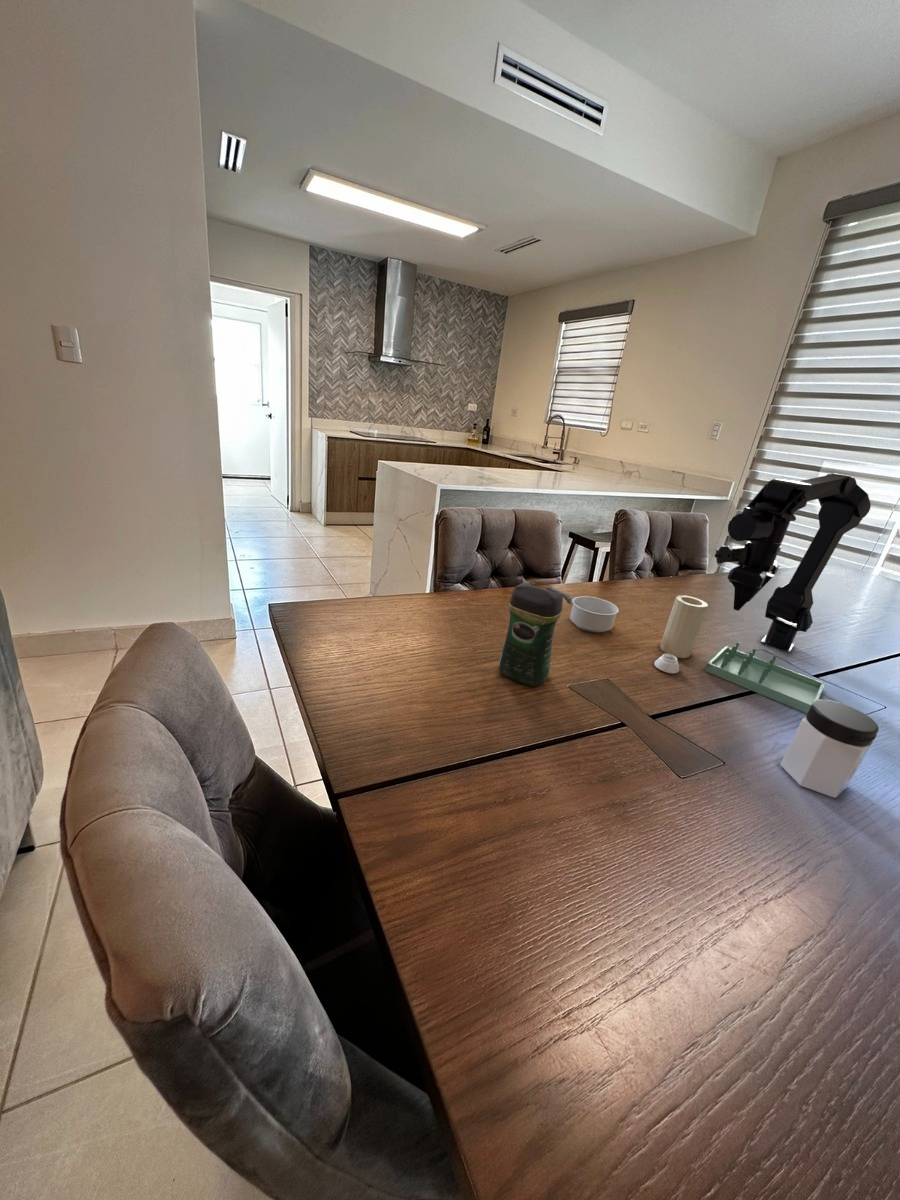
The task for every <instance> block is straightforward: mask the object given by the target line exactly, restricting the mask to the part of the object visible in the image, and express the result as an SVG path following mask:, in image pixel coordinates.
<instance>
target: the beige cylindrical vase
mask: <svg viewBox="0 0 900 1200" xmlns="http://www.w3.org/2000/svg"><path fill="white" fill-rule="evenodd" d="M708 606H709V604H708V603H707V602H705V601H704V600H702V599H700V598H698V597H694V596H691V595H683V594H682V595H676V597H675V599H674V602H673V605H672V607H671V608H672V609H671V612H670V614H669V618H668V620H667V623H666V626H665V630H664V633H663V636H662V639H661V642H660V645H659V648H660V650H661V651H662V652H664V654H670V655H673V656H675V657H676V658H681V659H686V658H687V659H688V658H689V657H690V656H691V654H692V652H693V649H694V646H695V643H696V640H697V637H698V635H699V631H700V629H701V626H702V624H703V622H704V617H705V615H706V612H707V609H708Z"/></svg>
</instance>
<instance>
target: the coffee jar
mask: <svg viewBox="0 0 900 1200" xmlns="http://www.w3.org/2000/svg"><path fill="white" fill-rule="evenodd" d="M563 603H564V598H563V596H562V594H560V593H556V592H552V591H549V590H547V589H546V588H543V587H539V586H536V585H532V584H530V583H527V582H523V583H520V584H518V585H516V586H515V587H514V589H513V591H512V593H511V597H510V600H509V602H508V609H509V624H508V628H507V633H506V636H505V640H504V644H503V647H502V651H501V654H500V659H499V663H498V671H499V673H500V674H502V675H503V676H505V677H507V679H510V680H513V681H515V682H517V683H520V684H523V685H526V686H529V687H534V686H540V685H542V684H543V683H544V682H546V680H548V678H549V674H550V668H551V659H552V658H551V657H552V649H553V648H552V647H553V639H554V633H555V627H556V624H557V622H558V621H559V619H560V618H561V616H562V614H563Z"/></svg>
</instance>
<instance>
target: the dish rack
mask: <svg viewBox="0 0 900 1200" xmlns="http://www.w3.org/2000/svg"><path fill="white" fill-rule="evenodd" d="M739 646H740V642H739V641H736V643H735V645H734V644H733V646H732V647H730V646H728V645H725V646H724V647H722V649H720V651H719V652H717V654H715V656H714V657H712V658H711V659H710V660H709V661H708V662H707V664H706V667H705V669H704V671H705V672H706V673H709V674H711V675H714V676H716V677H719V678H720V679H723V680H725V681H729V682H731V683H733V684H736V685H737V686H740V687H742V688H745V689H747V690H750V691H751V692H755V693H757V694H759V695H761V696H764V697H766V698H769V699H771V700H774V701H776V702H779V703H781V704H783V705H786V706H788V707H790V708H793V709H795V710H798V711H800V712H802V713H805V714H807V713H808V711H809V709H810V707H811V705H812V703H813V702H814V701H816V700H820V698H821V695H822V693H823V691H824V688H825V685H826V683H825V682H823V681H821V680H818V679H815V678H814V677H813V678H812V677H810V676H807V675H805V674H802V673H799V672H796V671H794V670H791V669H788V668H786V667H783V666H781V665H779V664H776V663H775V661H776V659H777V655H775V654H773V656H772V658H770V660H769V661H767V660H765V659H762V658H759V657H757V656H755V654H756V651H757V648H756V647H753V648H752V651H750V652H749V653H747V652H743V651H740V650H738V648H739Z"/></svg>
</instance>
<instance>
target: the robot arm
mask: <svg viewBox="0 0 900 1200" xmlns="http://www.w3.org/2000/svg"><path fill="white" fill-rule="evenodd" d="M816 500H818V503H819V505H820V508H819V510H818V513H817V518H818V522H819V528H818V530H817V531H816V533H815V535H814V537H813V539H812V540H811V543H810V544H809V545H808V548H807V549H806V552H805V553H804V555H803V557H802V558H801V560H800V562H799V564H798V566H797V568H796V570H794V571H795V572H794V574H793V575H792V577H791V578H790V581H789V582H788V583H786V584H785V585H782V586H777V587H776V588H775V589H774V590H773V593H772V595H771V597H770V598H769V599H768V601H767V603H766V609H765V615H764V617H765V618H766V619H769V620H771V621H772V622H771V624H770V625H769V629H768V631H767V633H766V634H765V636H764V637H763V638H762V639H761V640H760V643H761V644H764V645H766V646H769V647H771V648H773V649H777V650H780V651H783V652H785V653H791V651H792V649H793V648H794V646H795V644H794V640H795V637H796V635H797V633H798V632H803V633H807V632H808V630H810V628H811V626H812V624H813V623H814V621H813V616H812V612H811V609H812V607H813V605H814V597H813V589H814V587H815V585H816V583H817V582H818V580H819V578H820V576H821V574H822V573H823V572H824V569H825V567H826V566H827V564H828V562H829V560H830V559H831V557H832V555H833V553H834V552H835V550H836V548H837V546H838V545H839V543H840V541H841V540H842V537H843V536H844V535H845V534H846V533H849V532H850V531H851V530H853V529H854V528H856V527H858V526H859V524H861V522H862V520H863V519H864V518H865V517H867V515H868V514H869V513H870V510H871V507H872V504H871V500H870V497H869V493H868V492H866V491H865V490H864V489H863V488H861V486H859V485H858V483H857V481H856V478H855V477H853V476H852V475H846V474H840V473H828V474H826V475H822V476H818V477H813V478H807V479H803V480H790V479H789V480H788V479H782V478H781V479H780V478H773V479H771V480H769V481H768V482H767V483H766V484H765V485H764V486H763V487H762V488H761V489H760V490H759V492H758V493H756V495H755V496H754V497H753V499H752V500H751V501H750V502H749V503H748V504H747V506H746V507H744V508H742V509H743V510H742V512H740V513H737V514H736V515H734V516H733V517H732V518H731V519H730V520H729V521H728V524H727V532H728V535H729V537H730V538H731V539H732V540H734V541H736V542H745V543H744V545H735V546H732V545H730V544H728V545H721V546H719V547H718V548H716V549H715V554H714V558H715V559H716V564H723V563H737V566H735V567H733V568H731V569H730V570H729V573H728V574H727V576H726V577H727V580H728V582H729V583H731V585H732V587H734V593H733V594H734V595H733V610H734V611H737V612H739V611H740V610H741V609H742V608H743V607H744V606H745V605H746V604H747V603H749V602H750V601H752V599H754V597H755V596H757V594H759V592H760V591H761V590H762V589H763V588H764V587H765V586H766V585H767V584H768V583H769V582H770V581H771V580H772V579H773V578H774V576H775V575H776V574H777V573H778V570H779V567H780V564H779V563H778V561H777V560H776V559H777V556H778V554H779V552H781V550H782V548H783V546H782V543H783V541H784V539H785V536H786V533H787V530H788V529H789V525H790V523H791V522H796V520H797V517H796V515H795V513H796V512H797V511H800V510H801V509H803V508H805V507H807V504H808V502H811V501H816Z"/></svg>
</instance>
